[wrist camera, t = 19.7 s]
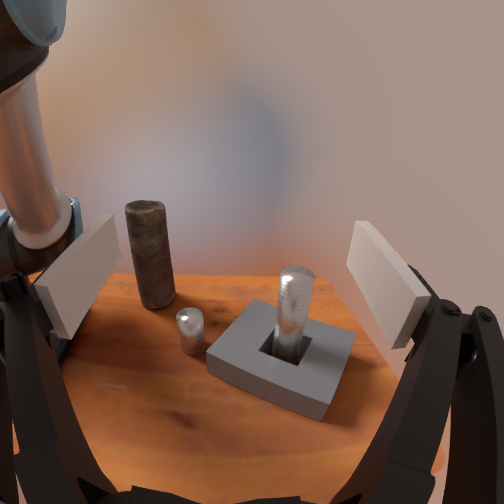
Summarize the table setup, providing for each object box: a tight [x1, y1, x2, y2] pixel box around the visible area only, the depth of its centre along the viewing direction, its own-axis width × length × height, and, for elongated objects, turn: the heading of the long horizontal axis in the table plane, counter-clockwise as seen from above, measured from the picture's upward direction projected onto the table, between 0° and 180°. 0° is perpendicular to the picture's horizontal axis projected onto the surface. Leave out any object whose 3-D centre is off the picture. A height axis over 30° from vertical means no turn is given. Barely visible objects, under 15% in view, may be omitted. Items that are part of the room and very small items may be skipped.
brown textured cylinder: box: [125, 200, 176, 309], centre depth 48 cm, size 8×7×20 cm
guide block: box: [206, 299, 356, 422], centre depth 39 cm, size 18×14×5 cm
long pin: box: [271, 266, 315, 366], centre depth 36 cm, size 4×4×17 cm
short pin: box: [176, 307, 206, 356], centre depth 41 cm, size 4×4×7 cm
